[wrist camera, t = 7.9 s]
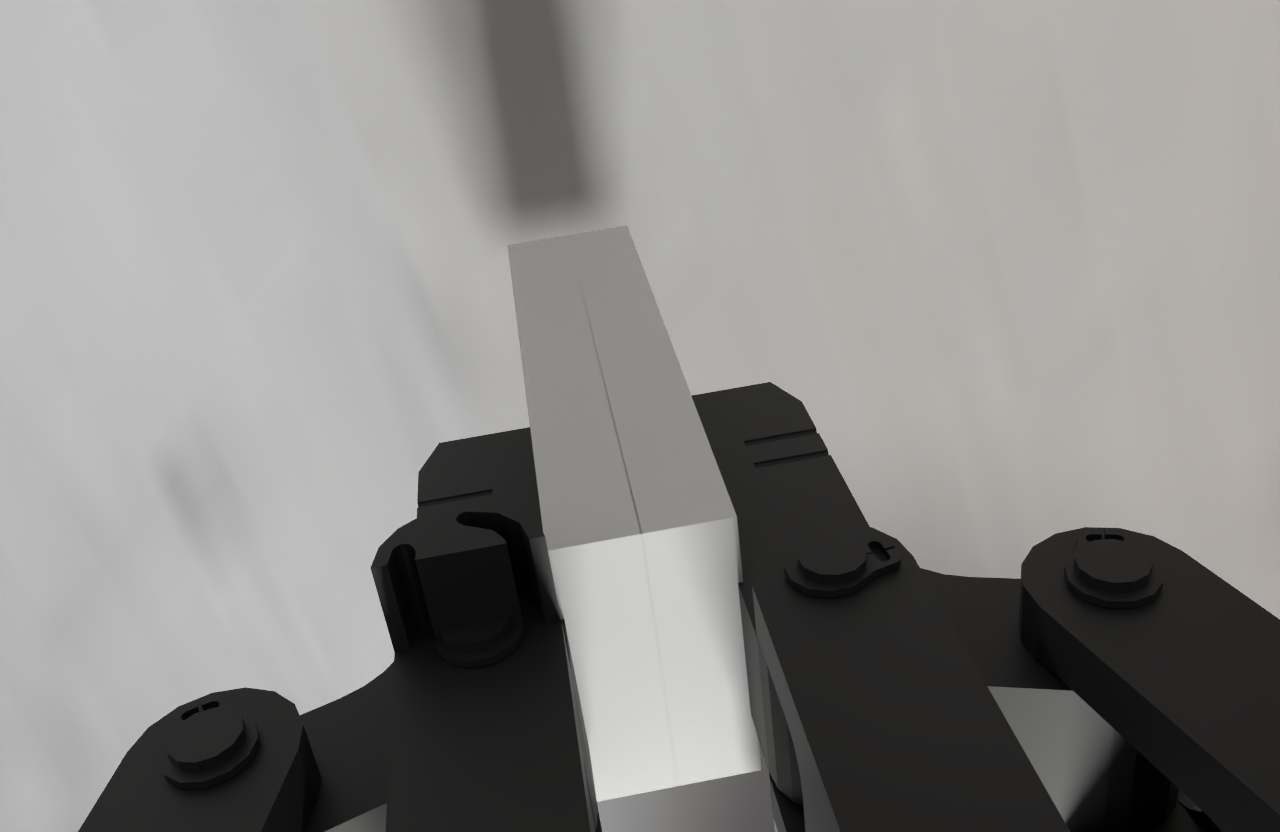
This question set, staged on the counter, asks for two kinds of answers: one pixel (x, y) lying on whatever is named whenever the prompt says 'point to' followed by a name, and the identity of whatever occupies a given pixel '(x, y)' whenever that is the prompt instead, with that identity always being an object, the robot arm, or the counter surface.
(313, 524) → the counter surface
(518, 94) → the counter surface
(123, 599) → the counter surface
